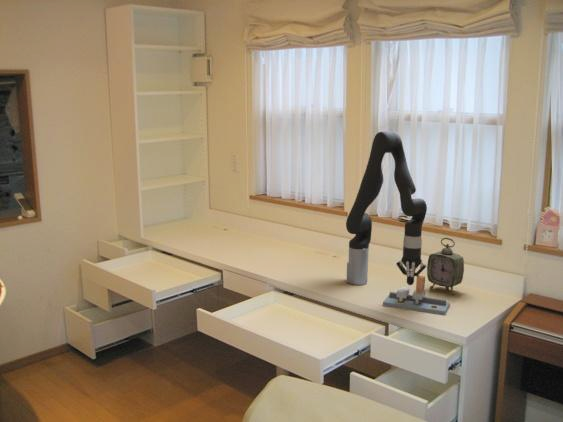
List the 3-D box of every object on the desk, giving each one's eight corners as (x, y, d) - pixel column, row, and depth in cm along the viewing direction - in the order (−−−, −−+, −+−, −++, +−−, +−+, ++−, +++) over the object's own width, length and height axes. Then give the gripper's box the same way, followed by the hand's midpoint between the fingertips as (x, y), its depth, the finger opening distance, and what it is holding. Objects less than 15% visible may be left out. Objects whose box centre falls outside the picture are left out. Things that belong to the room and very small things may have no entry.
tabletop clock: (425, 289, 286) (428, 236, 281) (436, 285, 292) (439, 233, 287) (453, 297, 276) (457, 242, 271) (464, 292, 282) (468, 239, 277)
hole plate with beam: (382, 305, 264) (383, 292, 263) (389, 296, 275) (390, 284, 274) (444, 314, 254) (445, 301, 253) (449, 305, 265) (450, 292, 264)
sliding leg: (411, 303, 261) (413, 279, 259) (415, 297, 268) (416, 274, 266) (421, 304, 260) (422, 281, 258) (424, 299, 267) (426, 276, 264)
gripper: (394, 245, 262) (392, 285, 266) (426, 249, 257) (424, 289, 260) (398, 241, 269) (397, 280, 272) (429, 245, 264) (427, 284, 267)
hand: (410, 284), depth 266 cm, fingers closed
